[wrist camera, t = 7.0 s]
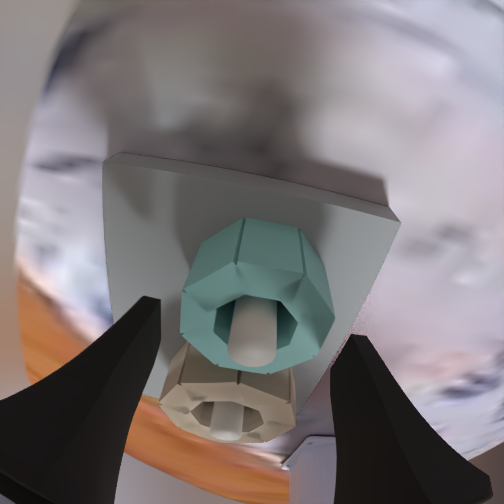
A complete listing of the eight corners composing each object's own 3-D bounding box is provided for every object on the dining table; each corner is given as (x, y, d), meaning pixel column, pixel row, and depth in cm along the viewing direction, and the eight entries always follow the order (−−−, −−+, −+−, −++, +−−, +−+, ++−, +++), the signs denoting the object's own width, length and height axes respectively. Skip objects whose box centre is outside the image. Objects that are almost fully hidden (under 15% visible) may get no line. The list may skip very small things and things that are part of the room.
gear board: (292, 404, 21) (292, 470, 16) (132, 373, 20) (110, 436, 16) (389, 207, 13) (442, 283, 8) (119, 152, 12) (41, 203, 7)
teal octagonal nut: (301, 328, 15) (304, 379, 12) (193, 309, 14) (179, 358, 12) (336, 235, 12) (352, 282, 9) (204, 209, 12) (184, 250, 9)
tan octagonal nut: (298, 399, 18) (299, 440, 16) (197, 403, 19) (189, 441, 17) (284, 328, 15) (285, 378, 12) (157, 337, 16) (141, 381, 13)
